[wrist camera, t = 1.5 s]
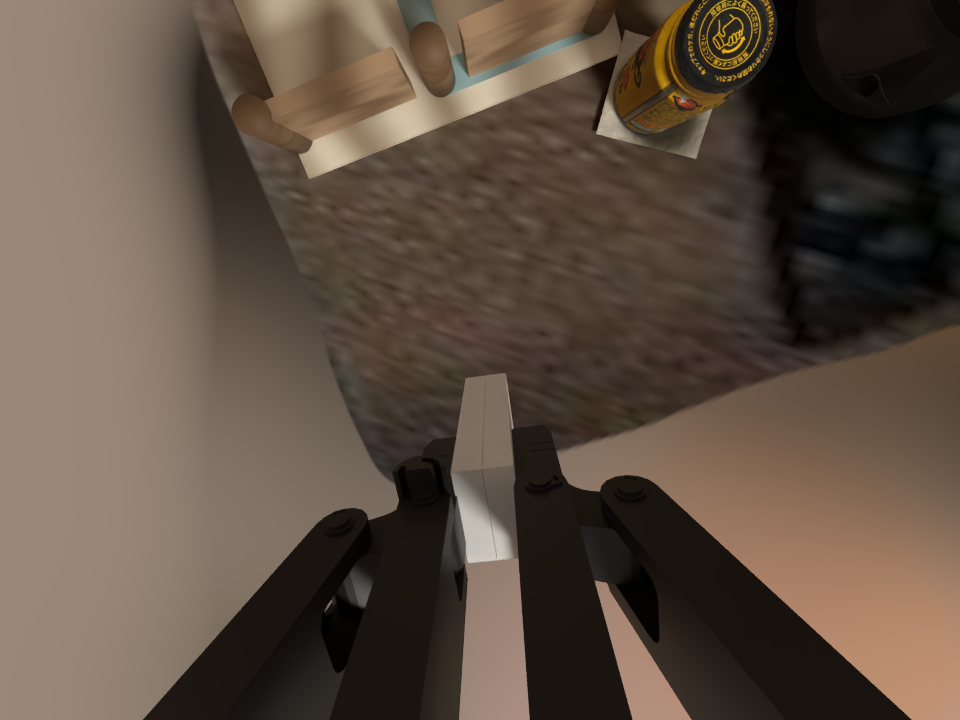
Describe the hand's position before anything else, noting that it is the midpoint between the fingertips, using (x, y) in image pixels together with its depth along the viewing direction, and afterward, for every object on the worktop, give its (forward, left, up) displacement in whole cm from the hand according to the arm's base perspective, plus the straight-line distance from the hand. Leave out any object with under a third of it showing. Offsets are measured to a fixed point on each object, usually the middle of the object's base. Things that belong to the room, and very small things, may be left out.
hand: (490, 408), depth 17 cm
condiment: (-18, -11, -24) cm, 32 cm away
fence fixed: (-8, -18, -24) cm, 31 cm away
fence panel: (+6, -18, -24) cm, 30 cm away
